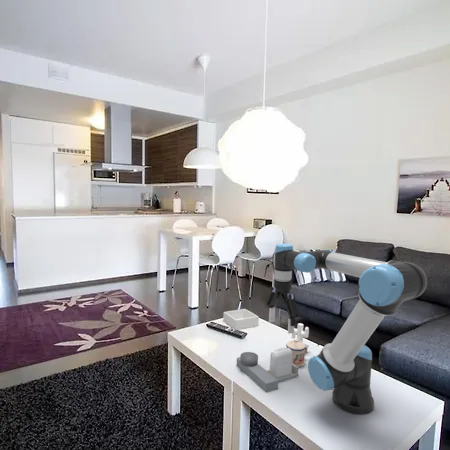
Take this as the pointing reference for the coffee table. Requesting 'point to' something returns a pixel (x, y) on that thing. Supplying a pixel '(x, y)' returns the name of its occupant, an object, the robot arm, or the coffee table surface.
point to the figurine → (301, 333)
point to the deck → (261, 372)
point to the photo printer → (281, 362)
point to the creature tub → (240, 319)
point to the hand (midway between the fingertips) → (281, 327)
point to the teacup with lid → (297, 352)
